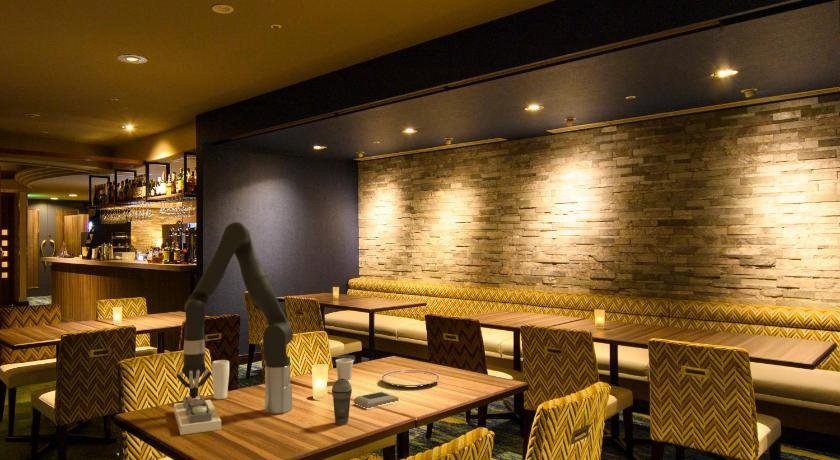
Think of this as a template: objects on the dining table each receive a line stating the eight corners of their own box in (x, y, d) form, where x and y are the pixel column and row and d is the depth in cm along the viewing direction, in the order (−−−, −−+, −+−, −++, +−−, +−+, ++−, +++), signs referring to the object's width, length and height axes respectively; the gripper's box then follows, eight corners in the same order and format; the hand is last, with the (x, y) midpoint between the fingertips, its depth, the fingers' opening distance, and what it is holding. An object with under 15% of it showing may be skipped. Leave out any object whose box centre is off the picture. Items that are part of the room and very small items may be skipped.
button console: (174, 411, 222) (174, 397, 223) (210, 407, 228) (210, 393, 228) (180, 435, 196) (180, 418, 196) (221, 429, 201) (221, 413, 201)
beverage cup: (343, 427, 204) (343, 369, 204) (327, 423, 208) (327, 367, 208) (356, 422, 210) (356, 365, 211) (340, 418, 214) (340, 363, 214)
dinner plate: (441, 390, 255) (441, 383, 256) (378, 390, 256) (378, 382, 256) (439, 376, 283) (439, 369, 283) (383, 376, 283) (383, 369, 283)
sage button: (191, 414, 204) (192, 406, 204) (205, 412, 206) (205, 405, 206) (193, 417, 200) (193, 410, 200) (207, 415, 202) (207, 408, 202)
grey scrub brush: (398, 394, 235) (367, 401, 226) (398, 404, 235) (367, 410, 226) (384, 390, 243) (353, 396, 233) (384, 399, 243) (353, 405, 233)
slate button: (189, 406, 213) (189, 399, 213) (202, 405, 215) (202, 398, 215) (190, 410, 209) (190, 403, 209) (204, 408, 211) (204, 401, 211)
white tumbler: (223, 400, 238) (223, 363, 238) (208, 399, 239) (208, 362, 240) (232, 396, 245) (232, 360, 245) (217, 395, 246) (217, 359, 246)
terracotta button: (186, 403, 222) (186, 397, 222) (199, 402, 224) (199, 395, 224) (187, 406, 218) (187, 399, 218) (200, 405, 220) (201, 398, 220)
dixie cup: (346, 379, 276) (346, 357, 276) (357, 382, 270) (357, 360, 270) (331, 381, 271) (331, 360, 271) (342, 385, 264) (342, 362, 265)
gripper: (211, 348, 228) (211, 393, 227) (174, 351, 222) (174, 397, 222) (214, 351, 221) (213, 398, 221) (176, 354, 215) (175, 402, 215)
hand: (193, 397), depth 221 cm, fingers closed
